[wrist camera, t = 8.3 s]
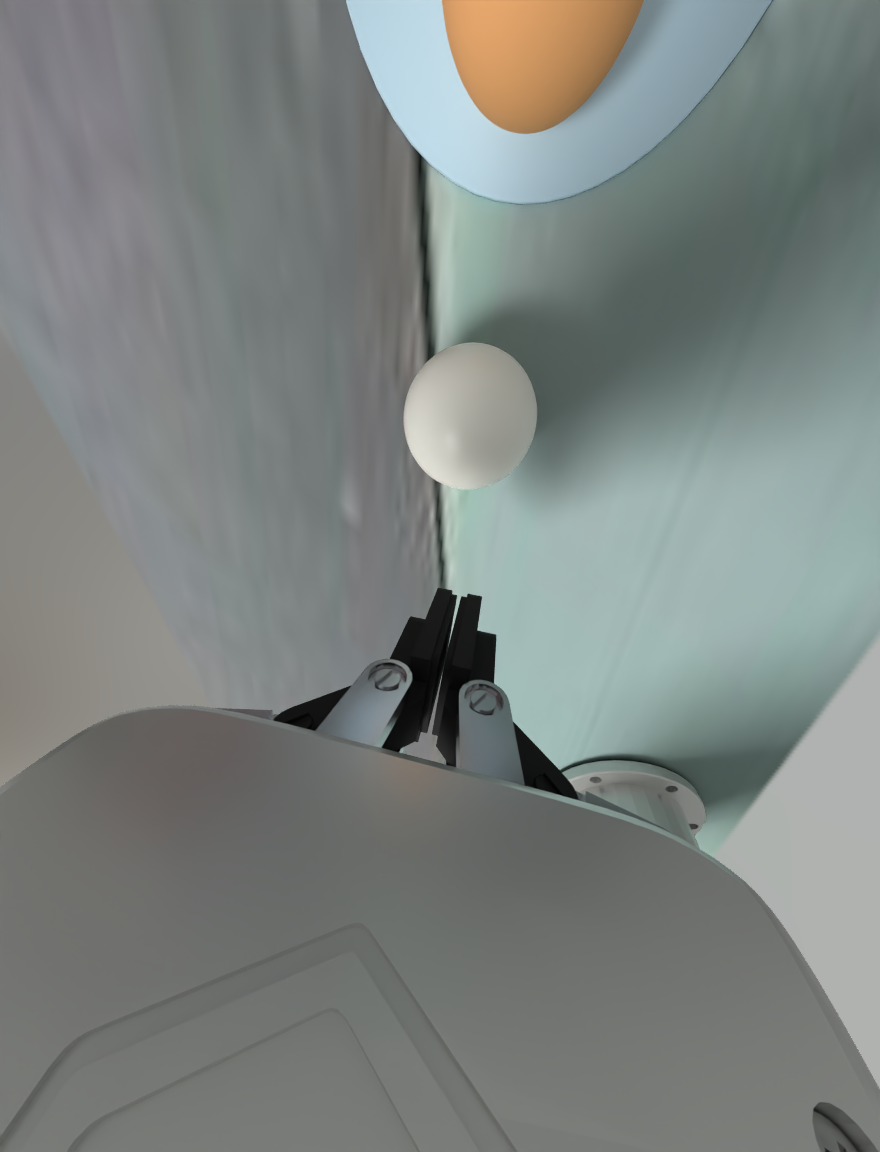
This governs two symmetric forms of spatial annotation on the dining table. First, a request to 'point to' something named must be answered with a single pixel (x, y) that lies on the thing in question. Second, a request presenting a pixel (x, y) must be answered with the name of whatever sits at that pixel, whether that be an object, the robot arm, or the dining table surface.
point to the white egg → (470, 415)
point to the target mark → (583, 140)
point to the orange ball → (535, 55)
